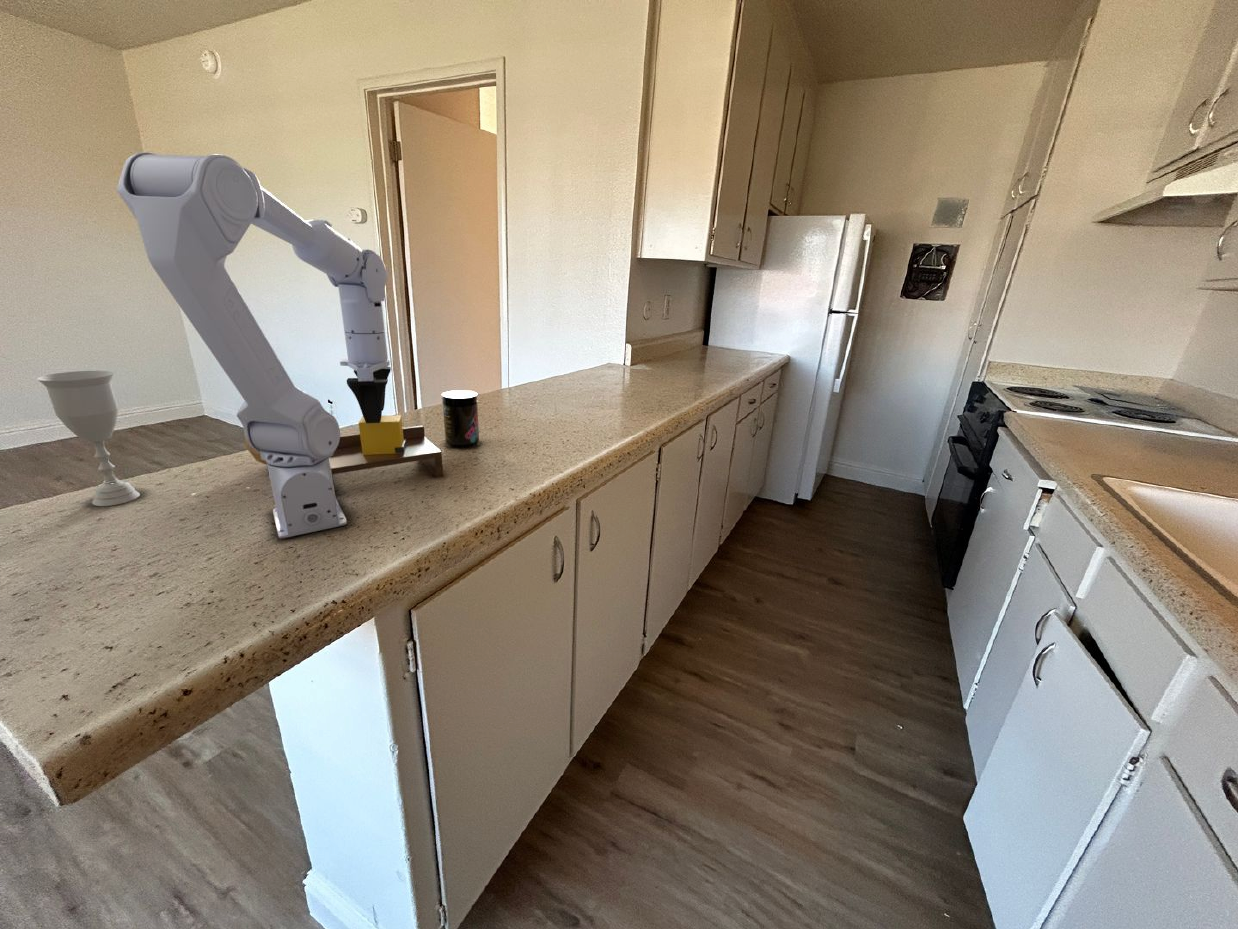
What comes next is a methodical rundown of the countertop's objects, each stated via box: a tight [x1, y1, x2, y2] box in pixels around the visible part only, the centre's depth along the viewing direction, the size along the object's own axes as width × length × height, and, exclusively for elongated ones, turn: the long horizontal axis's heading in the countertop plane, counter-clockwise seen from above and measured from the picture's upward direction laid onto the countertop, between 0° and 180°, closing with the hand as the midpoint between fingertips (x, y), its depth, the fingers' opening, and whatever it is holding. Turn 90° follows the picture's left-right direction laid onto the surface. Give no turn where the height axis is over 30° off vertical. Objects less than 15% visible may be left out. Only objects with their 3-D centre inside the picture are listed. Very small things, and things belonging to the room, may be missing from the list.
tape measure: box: [358, 414, 406, 455], centre depth 85 cm, size 4×6×6 cm, turn 107°
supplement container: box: [441, 390, 480, 449], centre depth 103 cm, size 7×7×10 cm
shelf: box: [329, 425, 444, 478], centre depth 86 cm, size 10×18×6 cm, turn 126°
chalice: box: [36, 370, 141, 507], centre depth 71 cm, size 7×7×18 cm
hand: (375, 416), depth 84 cm, fingers open, 7 cm apart
